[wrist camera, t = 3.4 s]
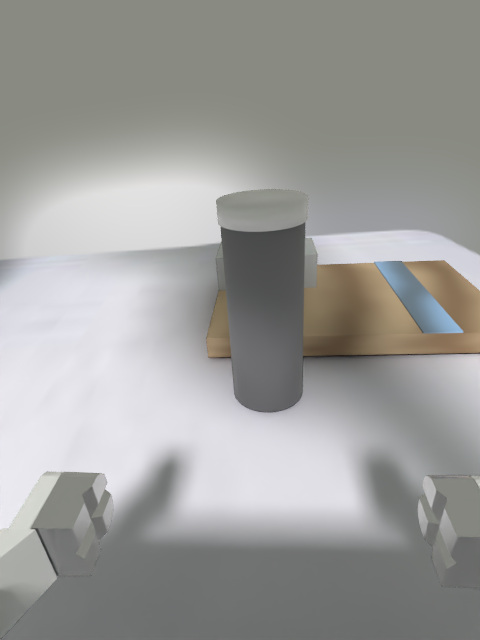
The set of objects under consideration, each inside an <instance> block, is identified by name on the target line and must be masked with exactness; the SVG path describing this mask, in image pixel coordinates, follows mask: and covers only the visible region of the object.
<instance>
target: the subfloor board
mask: <svg viewBox="0 0 480 640" xmlns="http://www.w3.org/2000/svg"><path fill="white" fill-rule="evenodd" d="M206 340H207V349H208V358H209V357H231V347H230V334H229V322H228V310H227V298H226V290H219V291H218V295H217V299H216V303H215V307H214V311H213V314H212V318H211V322H210V326H209V330H208V334H207V337H206ZM436 353H480V291H479V290H478V289H477V288H476V287H475V286H473V285H472V284H471V283H470V282H469V281H468V280H466V279H465V278H464V277H463V276H462V275H461V274H459V273H458V272H457V271H456V270H455V269H454V268H452V267H451V266H450V265H449V264H448V263H447V262H445V261H444V260H443V261H415V262H402V261H386V262H374V263H359V264H330V265H317V284H316V287H314V288H304V328H303V356H323V355H379V354H436Z"/></svg>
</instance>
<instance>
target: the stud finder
mask: <svg viewBox="0 0 480 640" xmlns="http://www.w3.org/2000/svg"><path fill="white" fill-rule="evenodd" d="M216 266H217V277H218V287H219V290H226V286H225V274H224V262H223V250H222V242H221V244H220V247H219V250H218V253H217V256H216ZM316 284H317V252H316V249H315V246H314V243H313V240H312V238H305V268H304V288H314V287H316Z"/></svg>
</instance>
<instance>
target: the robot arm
mask: <svg viewBox="0 0 480 640" xmlns="http://www.w3.org/2000/svg"><path fill="white" fill-rule="evenodd" d="M106 485H107V480H106V477H105V474H102V473H79V472H46V473H44V474H43V475H42V476H41V477H40V478H39V480H38V482H37V483H36V485H35V486H34V488H33V490H32V491H31V493H30V494H29V496H28V498H27V499H26V501H25V503H24V504H23V506H22V507H21V509H20V511H19V512H18V514H17V515H16V517H15V519H14V520H13V522H12V524H11V525H10V527H9V528H8V529H2V530H0V640H1V639H2V638H3V636H4V635H5V634H6V633H7V632H8V631H9V630H10V629H11V628H12V627H13V626H14V625H15V624H16V622H17V621H18V620H19V619H20V618H21V617H22V616H23V615H24V614H25V613H26V612H27V611H28V610H29V609H30V607H31V606H32V605H33V604H34V603H35V602H36V601H37V600H38V599H39V598H40V597H41V596H42V595H43V593H44V592H45V591H46V590H47V589H48V588H49V587H50V586H51V585H52V584H53V583H54V582H55V581H56V580H57V578H58V577H57V576H91V575H92V572H93V570H94V567H95V564H96V562H97V559H98V556H99V554H100V551H101V547H100V544H99V540H100V539H101V538H102V537H103V536H104V535H105V534H106V533H107V532H108V530H109V527H110V524H111V521H112V515H113V499H112V496H111V494H110V493H109V492H108V491H106V490H105V487H106ZM422 487H423V490H424V492H425V494H424V495H423V496H422V497H420V498H419V502H418V520H419V524H420V529H421V532H422V534H423V537H424V539H425V540H426V541H427V542H428V543H429V544H430V545H431V546H432V547H433V551H432V555H431V559H432V562H433V565H434V567H435V570H436V573H437V575H438V578H439V581H440V584H441V586H442V587H458V588H476V589H480V476H467V475H427V476H426V477H425V478H424V480H423V484H422Z"/></svg>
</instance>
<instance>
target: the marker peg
mask: <svg viewBox="0 0 480 640" xmlns="http://www.w3.org/2000/svg"><path fill="white" fill-rule="evenodd" d="M216 203H217V215H218V224H219V225H220V226H221V238H222V250H223V262H224V274H225V286H226V298H227V310H228V322H229V334H230V347H231V359H232V371H233V383H234V394H235V397H236V399H237V400H238V401H239V402H240V403H241V404H242V405H243V406H245V407H247V408H249V409H252V410H255V411H260V412H276V411H281V410H284V409H287V408H289V407H291V406H293V405H294V404H295V403H297V402H298V401H299V399H300V398H301V395H302V387H303V328H304V268H305V222H306V221H307V219H308V216H307V215H308V195H307V194H305V193H303V192H299V191H293V190H280V189H271V190H270V189H266V190H251V191H243V192H237V193H232V194H228V195H224V196H222V197H220V198H218V199H217V200H216Z"/></svg>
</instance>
